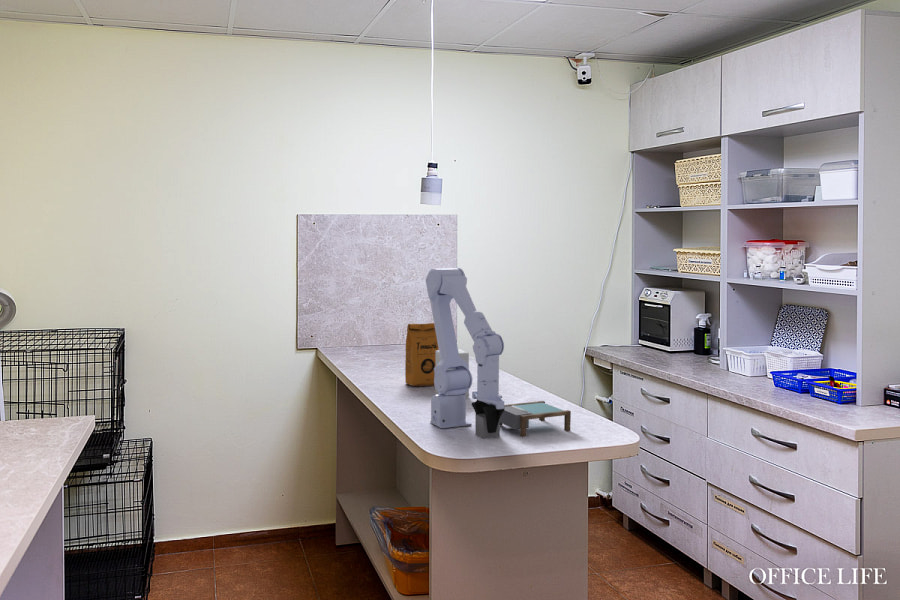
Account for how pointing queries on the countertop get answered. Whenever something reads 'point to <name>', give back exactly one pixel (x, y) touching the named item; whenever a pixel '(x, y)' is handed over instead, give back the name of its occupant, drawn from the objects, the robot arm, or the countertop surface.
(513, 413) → the trapdoor
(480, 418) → the gray block
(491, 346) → the robot arm
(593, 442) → the countertop surface
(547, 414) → the frame
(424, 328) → the coffee package
